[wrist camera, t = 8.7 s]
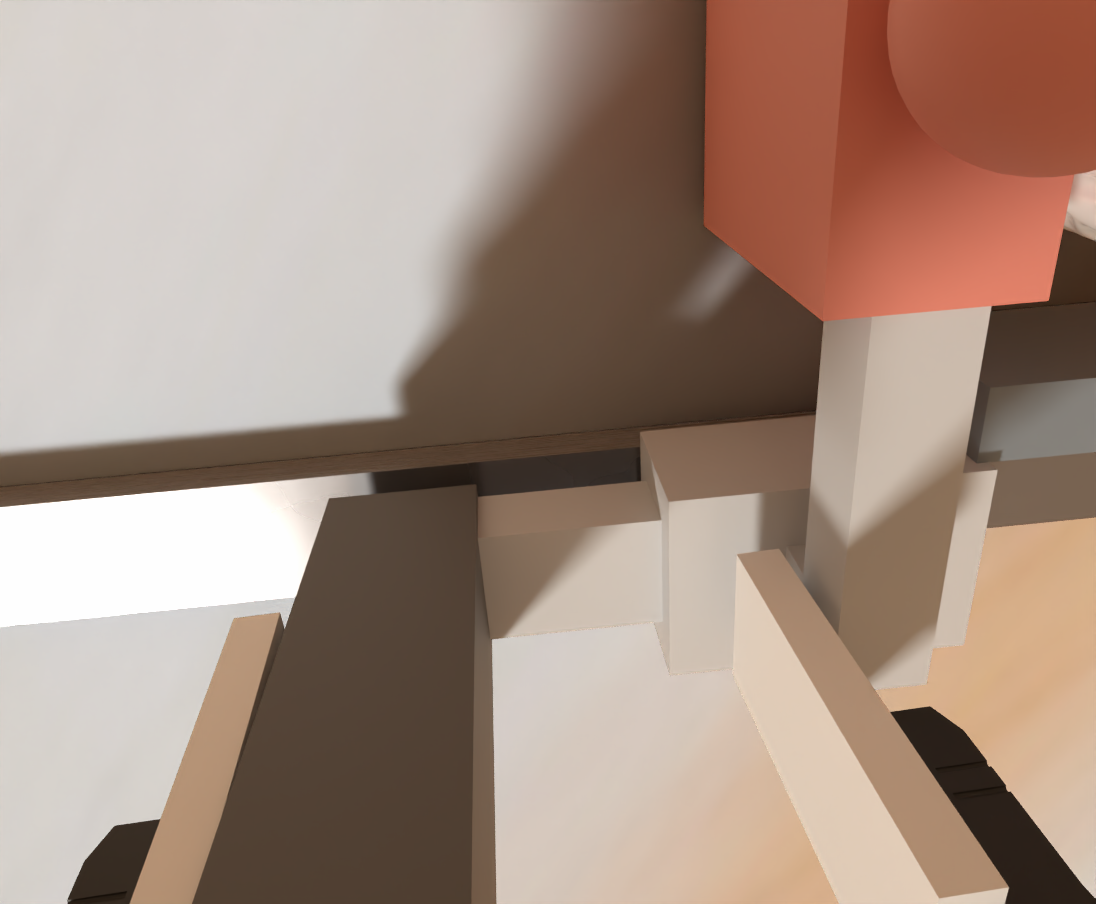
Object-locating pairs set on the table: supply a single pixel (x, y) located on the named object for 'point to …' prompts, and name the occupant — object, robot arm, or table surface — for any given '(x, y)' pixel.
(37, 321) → the table surface
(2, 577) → the rail
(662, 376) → the table surface
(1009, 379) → the frame
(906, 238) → the striker slider
